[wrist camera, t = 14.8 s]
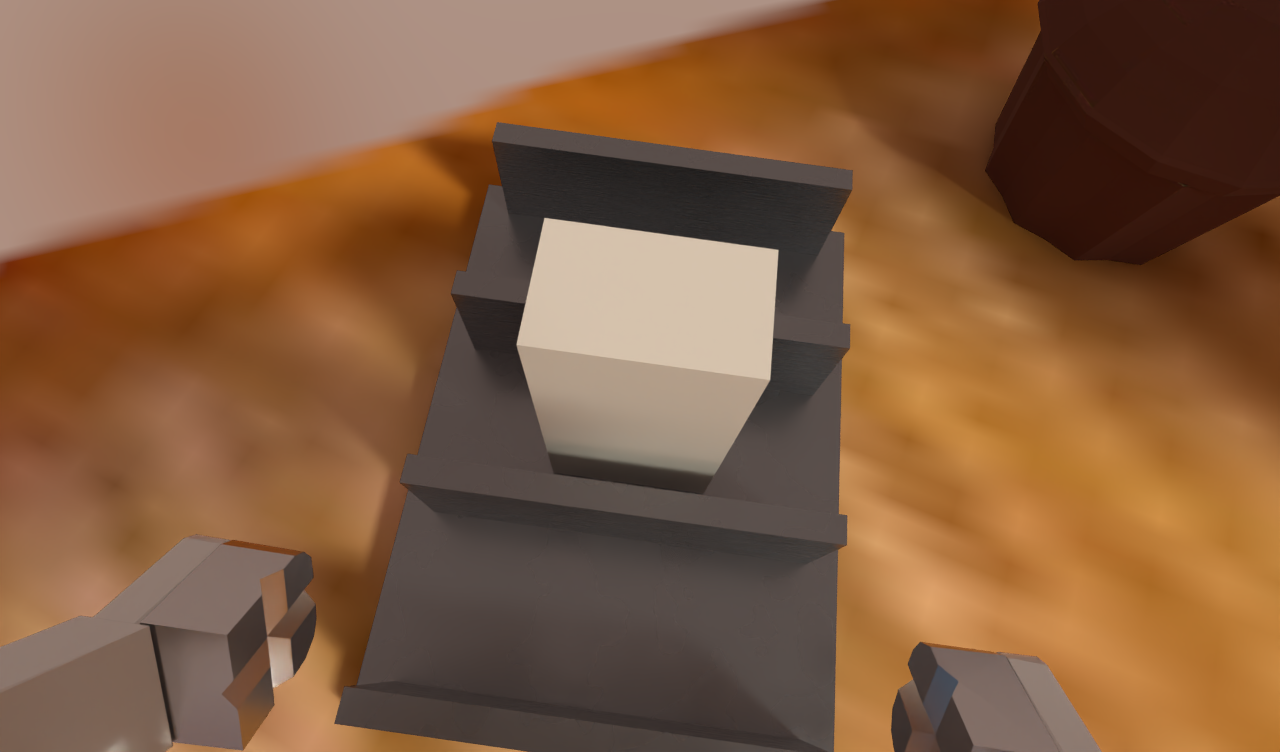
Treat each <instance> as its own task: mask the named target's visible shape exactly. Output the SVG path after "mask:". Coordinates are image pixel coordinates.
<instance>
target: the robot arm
mask: <svg viewBox="0 0 1280 752" xmlns="http://www.w3.org/2000/svg"><path fill="white" fill-rule="evenodd" d="M312 579H313V568H312V560H311V557H310V556H309V555H307V554H306V553H305V552H301V551H296V550H290V549H284V548H278V547H272V546H266V545H260V544H254V543H249V542H243V541H237V540H227V539H221V538H215V537H209V536H203V535H197V534H196V535H193V536H189V537H186V538H184V539H182V540H181V541H180V542H179V543H178V544H176V545H175V546H174V547H173V548H172V549H171V550H170V551H168V552H167V553H166V554H165V555H164V556H163V557H162V558H160V559H159V560H158V561H157V562H156V563H155V564H154V565H152V566H151V567H150V568H149V569H148V570H147V571H146V572H144V573H143V574H142V575H141V576H140V577H139V578H138V579H136V580H135V581H134V582H133V583H132V584H131V585H130V586H128V587H127V588H126V589H125V590H124V591H123V592H121V593H120V594H119V595H118V596H117V597H116V598H115V599H113V600H112V601H111V602H110V603H109V604H108V605H107V606H105V607H104V608H103V609H102V610H101V611H100V612H99V613H97V614H96V615H95V616H94V617H86V616H78V617H76V618H73V619H71V620H68V621H66V622H63V623H61V624H58V625H56V626H53V627H51V628H48V629H45V630H43V631H40V632H38V633H35V634H33V635H30V636H28V637H25V638H23V639H20V640H17V641H15V642H12V643H10V644H7V645H5V646H2V647H0V752H165V751H167V750H168V749H170V748H171V747H172V746H173V743H172V742H176V743H184V744H193V745H201V746H210V747H218V748H227V749H235V750H244V749H245V747H246V746H247V744H248V743H249V741H250V740H251V738H252V737H253V736H254V734H255V733H256V731H257V730H258V728H259V727H260V725H261V724H262V722H263V721H264V719H265V718H266V717H267V715H268V714H269V712H270V711H271V709H272V708H273V706H274V695H273V688H275V687H276V686H278V685H280V684H281V683H283V682H285V681H287V680H288V679H290V678H292V677H294V675H295V674H296V672H297V671H298V669H299V668H300V666H301V664H302V663H303V661H304V660H305V658H306V656H307V653H308V650H309V648H310V645H311V643H312V640H313V637H314V632H315V625H316V604H315V603H314V601H313V600H312V599H311V598H310V596H309V595H308V594H307V593H306V592H305V590H304V589H305V588H306V587H307V585H308V584H309V583H310V581H311V580H312ZM908 666H909V669H910V671H911V674H912V677H913V680H912V681H910V682H909V683H907V684H906V685H904V686H903V687H901V688H900V689H899V690H898V693H897V696H896V699H895V702H894V705H893V709H892V726H891V732H892V739H893V746H894V751H895V752H1102V751H1101V750H1100V748H1099V747H1098V745H1097V744H1096V742H1095V740H1094V739H1093V737H1092V736H1091V734H1090V732H1089V731H1088V729H1087V728H1086V726H1085V724H1084V723H1083V721H1082V720H1081V718H1080V717H1079V715H1078V713H1077V712H1076V710H1075V709H1074V707H1073V705H1072V704H1071V702H1070V701H1069V699H1068V698H1067V696H1066V694H1065V693H1064V691H1063V690H1062V688H1061V686H1060V685H1059V683H1058V682H1057V680H1056V679H1055V677H1054V675H1053V674H1052V672H1051V671H1050V669H1049V667H1048V666H1047V665H1046V664H1045V663H1044V662H1043V661H1042V660H1040V659H1039V658H1038V657H1035V656H1027V655H1019V654H1011V653H1003V652H996V653H994V652H990V651H983V650H976V649H968V648H961V647H954V646H947V645H940V644H932V643H925V642H920V643H919V644H918V645H917V646H916V647H915V648H914V649H913V652H912V654H911V657H910V660H909V662H908Z"/></svg>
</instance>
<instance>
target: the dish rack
mask: <svg viewBox="0 0 1280 752" xmlns="http://www.w3.org/2000/svg"><path fill="white" fill-rule="evenodd" d="M492 143H493V147H494V152H495V156H496V161H497V165H498V170H499V174H500V179H501V183H502V186H496V185H489V187H488V191H487V195H486V198H485V202H484V206H483V210H482V213H481V217H480V221H479V225H478V229H477V232H476V236H475V240H474V244H473V247H472V251H471V255H470V259H469V263H468V266H467V270H466V272H465V271H458V270H457V272H456V276H455V280H454V284H453V287H452V291H451V295H452V297H453V300H454V302H455V304H456V307H457V308H456V312H455V315H454V319H453V323H452V327H451V331H450V334H449V338H448V342H447V346H446V350H445V353H444V357H443V361H442V365H441V368H440V372H439V376H438V380H437V384H436V387H435V391H434V395H433V399H432V402H431V406H430V410H429V414H428V418H427V421H426V425H425V429H424V433H423V436H422V440H421V444H420V448H419V452H418V455H413V454H407V457H406V461H405V465H404V468H403V472H402V476H401V479H400V483H401V484H402V485H403V486H404V487H406V488H407V489H408V493H407V497H406V501H405V504H404V508H403V512H402V516H401V520H400V523H399V527H398V531H397V535H396V538H395V542H394V546H393V550H392V554H391V557H390V561H389V565H388V569H387V572H386V576H385V580H384V584H383V588H382V591H381V595H380V599H379V603H378V607H377V610H376V614H375V618H374V622H373V625H372V629H371V633H370V637H369V641H368V644H367V648H366V652H365V656H364V659H363V663H362V667H361V671H360V675H359V678H358V682H357V685H354V686H345V687H344V690H343V694H342V697H341V701H340V705H339V708H338V712H337V716H336V720H335V723H334V724H340V725H347V726H354V727H361V728H368V729H375V730H382V731H389V732H396V733H403V734H410V735H417V736H424V737H431V738H438V739H445V740H452V741H459V742H466V743H473V744H480V745H486V746H493V747H500V748H507V749H514V750H521V751H528V752H834V715H835V665H836V616H837V567H838V549H840V548H842V547H844V546H846V545H847V515H841V514H839V468H840V418H841V369H842V358H843V356H844V355H845V354H846V353H847V351H848V350H849V349H850V324H843V323H842V319H843V270H844V233H841V232H833V231H831V229H832V228H833V226H834V224H835V222H836V220H837V218H838V216H839V214H840V212H841V210H842V208H843V207H844V205H845V203H846V201H847V199H848V197H849V195H850V193H851V191H852V172H853V170H845V169H838V168H831V167H823V166H816V165H808V164H801V163H794V162H786V161H779V160H772V159H764V158H757V157H749V156H742V155H735V154H727V153H720V152H713V151H705V150H698V149H690V148H683V147H676V146H668V145H661V144H653V143H646V142H639V141H631V140H624V139H617V138H609V137H602V136H594V135H587V134H580V133H572V132H565V131H558V130H550V129H543V128H535V127H528V126H521V125H513V124H506V123H499V122H497V125H496V128H495V132H494V136H493V139H492ZM544 218H549V219H556V220H564V221H571V222H578V223H586V224H593V225H600V226H607V227H615V228H622V229H629V230H637V231H644V232H651V233H659V234H666V235H673V236H680V237H688V238H695V239H702V240H710V241H717V242H724V243H732V244H739V245H746V246H753V247H761V248H768V249H775V250H778V265H777V281H776V297H775V312H774V328H773V344H772V359H771V375H770V381H769V383H768V385H767V386H766V388H765V390H764V391H763V393H762V395H761V397H760V398H759V400H758V402H757V403H756V405H755V407H754V408H753V410H752V412H751V414H750V415H749V417H748V419H747V420H746V422H745V424H744V426H743V427H742V429H741V431H740V432H739V434H738V436H737V437H736V439H735V441H734V443H733V444H732V446H731V448H730V449H729V451H728V453H727V454H726V456H725V458H724V460H723V461H722V463H721V465H720V466H719V468H718V470H717V471H716V473H715V475H714V477H713V478H712V480H711V482H710V483H709V485H708V487H707V489H706V490H705V492H704V493H696V492H689V491H682V490H675V489H668V488H661V487H654V486H647V485H639V484H632V483H625V482H618V481H611V480H604V479H597V478H590V477H582V476H575V475H568V474H561V473H554V472H553V469H552V466H551V463H550V459H549V456H548V452H547V449H546V445H545V442H544V438H543V435H542V432H541V428H540V425H539V421H538V418H537V414H536V411H535V407H534V404H533V401H532V397H531V394H530V390H529V387H528V383H527V380H526V376H525V373H524V369H523V366H522V363H521V359H520V356H519V352H518V349H517V345H516V344H517V340H518V335H519V331H520V326H521V322H522V317H523V313H524V308H525V304H526V299H527V295H528V290H529V286H530V281H531V277H532V272H533V268H534V263H535V259H536V254H537V250H538V245H539V241H540V236H541V232H542V227H543V223H544Z"/></svg>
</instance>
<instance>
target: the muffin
mask: <svg viewBox="0 0 1280 752" xmlns="http://www.w3.org/2000/svg"><path fill="white" fill-rule="evenodd" d="M1038 10H1039V18H1040V25H1041V32H1040V34H1039V36H1038V38H1037V40H1036V42H1035V44H1034V46H1033V48H1032V51H1031V53H1030V55H1029V57H1028V59H1027V61H1026V63H1025V65H1024V67H1023V69H1022V71H1021V73H1020V75H1019V77H1018V79H1017V82H1016V84H1015V86H1014V88H1013V90H1012V92H1011V94H1010V96H1009V98H1008V100H1007V102H1006V104H1005V106H1004V108H1003V110H1002V113H1001V115H1000V117H999V119H998V121H997V123H996V127H995V138H994V148H993V151H992V153H991V156H990V159H989V162H988V164H987V167H986V170H985V171H986V173H987V174H988V176H989V177H990V179H991V180H992V182H993V183H994V185H995V186H996V187H997V189H998V190H999V192H1000V193H1001V195H1002V197H1003V199H1004V201H1005V203H1006V206H1007V208H1008V210H1009V212H1010V215H1011V217H1012V219H1013V222H1014V223H1015V224H1017V225H1019V226H1021V227H1022V228H1024V229H1026V230H1028V231H1030V232H1032V233H1034V234H1036V235H1038V236H1040V237H1042V238H1044V239H1045V240H1047V241H1048V242H1050V243H1051V244H1052V245H1054V246H1055V247H1057V248H1058V249H1059V250H1061V251H1062V252H1064V253H1065V254H1066V255H1068V256H1069V257H1071V258H1072V259H1073V260H1112V261H1118V262H1125V263H1132V264H1139V265H1141V264H1143V263H1145V262H1147V261H1149V260H1151V259H1153V258H1155V257H1157V256H1160V255H1162V254H1164V253H1166V252H1168V251H1170V250H1172V249H1174V248H1176V247H1178V246H1180V245H1182V244H1184V243H1186V242H1188V241H1190V240H1192V239H1194V238H1196V237H1198V236H1200V235H1202V234H1204V233H1206V232H1208V231H1210V230H1212V229H1214V228H1216V227H1218V226H1220V225H1222V224H1224V223H1226V222H1228V221H1230V220H1232V219H1234V218H1236V217H1238V216H1240V215H1242V214H1244V213H1246V212H1248V211H1250V210H1252V209H1254V208H1256V207H1258V206H1260V205H1262V204H1264V203H1266V202H1268V201H1270V200H1272V199H1274V198H1276V197H1278V196H1280V0H1039V2H1038Z"/></svg>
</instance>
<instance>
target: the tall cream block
mask: <svg viewBox="0 0 1280 752" xmlns="http://www.w3.org/2000/svg"><path fill="white" fill-rule="evenodd" d="M777 265H778V250H775V249H768V248H761V247H753V246H746V245H739V244H732V243H724V242H717V241H710V240H702V239H695V238H688V237H680V236H673V235H666V234H659V233H651V232H644V231H637V230H629V229H622V228H615V227H607V226H600V225H593V224H586V223H578V222H571V221H564V220H556V219H549V218H544V223H543V227H542V232H541V236H540V241H539V245H538V250H537V254H536V259H535V263H534V268H533V272H532V277H531V281H530V286H529V290H528V295H527V299H526V304H525V308H524V313H523V317H522V322H521V326H520V331H519V335H518V340H517V344H516V345H517V349H518V352H519V356H520V359H521V363H522V366H523V369H524V373H525V376H526V380H527V383H528V387H529V390H530V394H531V397H532V401H533V404H534V407H535V411H536V414H537V418H538V421H539V425H540V428H541V432H542V435H543V438H544V442H545V445H546V449H547V452H548V456H549V459H550V463H551V466H552V469H553V472H554V473H561V474H568V475H575V476H582V477H590V478H597V479H604V480H611V481H618V482H625V483H632V484H639V485H647V486H654V487H661V488H668V489H675V490H682V491H689V492H696V493H704V492H705V490H706V489H707V487H708V485H709V483H710V482H711V480H712V478H713V477H714V475H715V473H716V471H717V470H718V468H719V466H720V465H721V463H722V461H723V460H724V458H725V456H726V454H727V453H728V451H729V449H730V448H731V446H732V444H733V443H734V441H735V439H736V437H737V436H738V434H739V432H740V431H741V429H742V427H743V426H744V424H745V422H746V420H747V419H748V417H749V415H750V414H751V412H752V410H753V408H754V407H755V405H756V403H757V402H758V400H759V398H760V397H761V395H762V393H763V391H764V390H765V388H766V386H767V385H768V383H769V381H770V375H771V359H772V344H773V328H774V312H775V297H776V281H777Z"/></svg>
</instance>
